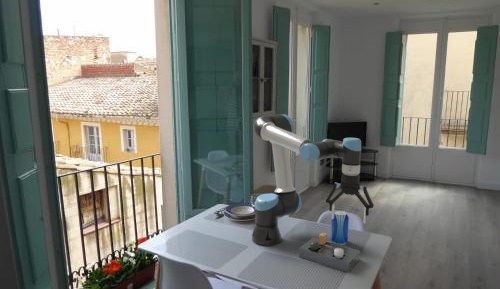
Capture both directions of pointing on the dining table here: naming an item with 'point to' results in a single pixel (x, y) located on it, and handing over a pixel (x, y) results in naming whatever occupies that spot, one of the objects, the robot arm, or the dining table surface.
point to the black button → (314, 246)
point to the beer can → (339, 227)
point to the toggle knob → (322, 238)
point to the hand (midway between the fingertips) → (348, 220)
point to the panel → (330, 255)
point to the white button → (338, 253)
